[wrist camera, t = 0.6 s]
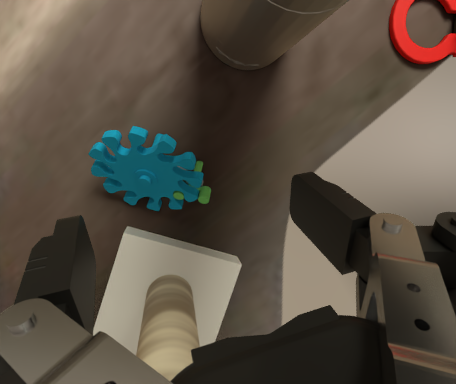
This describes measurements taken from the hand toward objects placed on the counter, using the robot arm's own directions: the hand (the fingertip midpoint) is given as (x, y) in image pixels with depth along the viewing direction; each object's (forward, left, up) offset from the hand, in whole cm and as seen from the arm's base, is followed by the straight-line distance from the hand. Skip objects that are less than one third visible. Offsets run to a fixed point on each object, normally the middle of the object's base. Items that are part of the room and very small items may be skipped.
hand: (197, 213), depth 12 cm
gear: (+1, -2, -21) cm, 21 cm away
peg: (+12, +3, -18) cm, 22 cm away
